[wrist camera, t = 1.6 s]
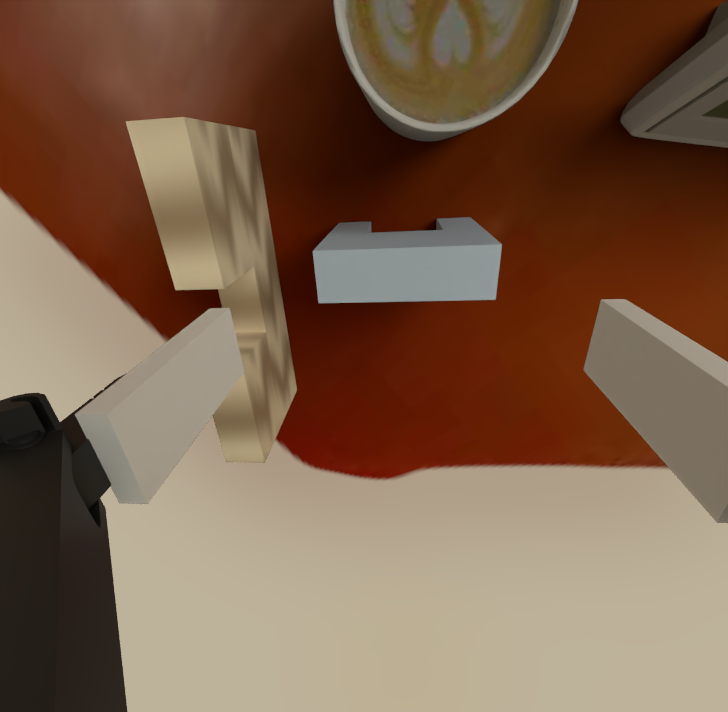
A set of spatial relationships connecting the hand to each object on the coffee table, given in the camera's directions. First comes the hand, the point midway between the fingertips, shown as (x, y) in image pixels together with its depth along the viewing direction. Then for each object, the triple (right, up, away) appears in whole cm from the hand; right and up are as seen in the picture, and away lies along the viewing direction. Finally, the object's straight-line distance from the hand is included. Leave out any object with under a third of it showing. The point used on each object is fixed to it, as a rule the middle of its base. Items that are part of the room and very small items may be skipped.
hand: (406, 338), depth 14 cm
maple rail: (-10, +6, +18) cm, 22 cm away
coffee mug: (+4, +20, +9) cm, 23 cm away
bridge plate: (+2, +8, +16) cm, 18 cm away
